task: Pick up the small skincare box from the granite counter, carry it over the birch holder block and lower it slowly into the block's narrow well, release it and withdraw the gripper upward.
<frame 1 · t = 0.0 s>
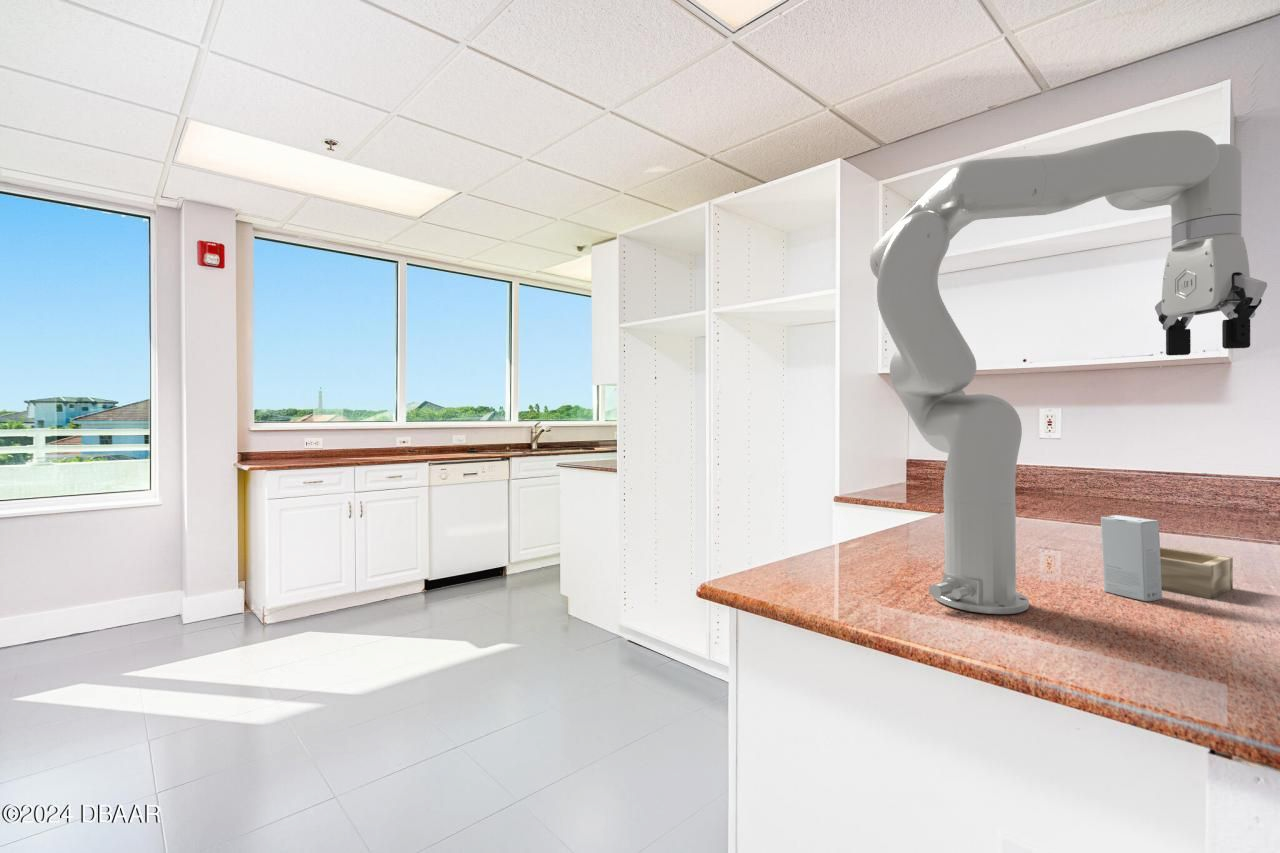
hand: (1205, 351, 89), 37 cm above the table, tool pointing down, fingers open, 9 cm apart
skincare box: (1130, 596, 93), on the table
well block: (1178, 585, 98), on the table
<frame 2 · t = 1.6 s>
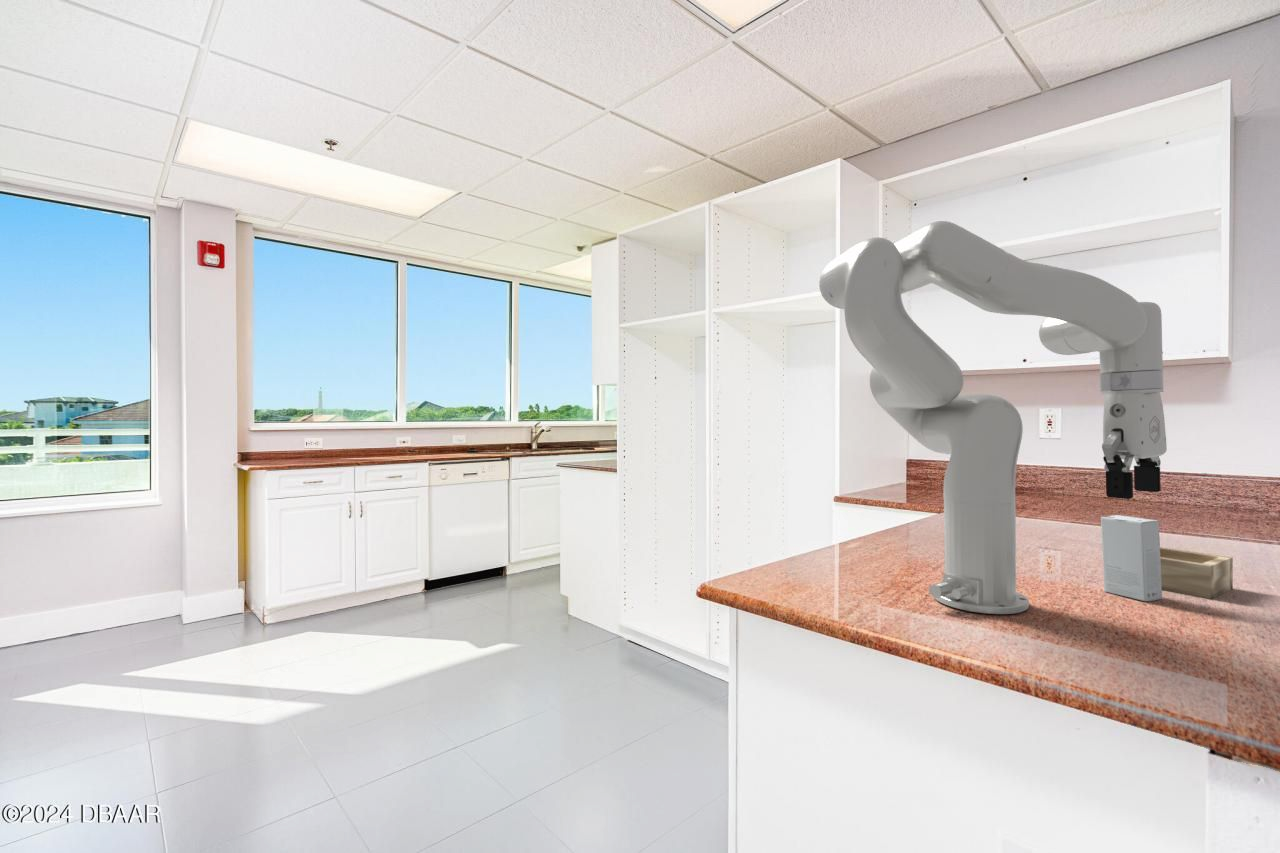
hand: (1133, 494, 93), 16 cm above the table, tool pointing down, fingers open, 9 cm apart
nothing on the table moved.
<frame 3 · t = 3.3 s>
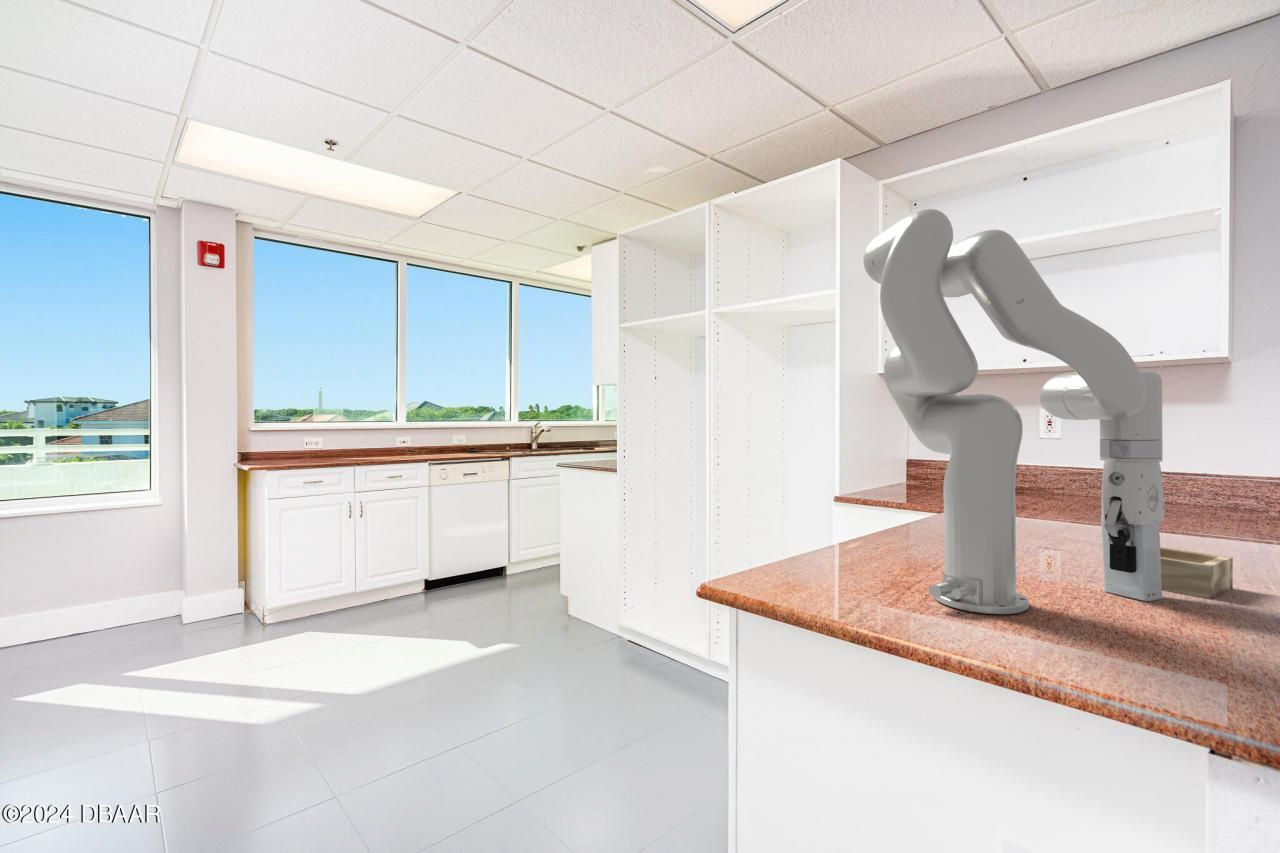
hand: (1130, 566, 93), 4 cm above the table, tool pointing down, fingers closed on skincare box, 4 cm apart
skincare box: (1130, 596, 93), on the table, touching gripper
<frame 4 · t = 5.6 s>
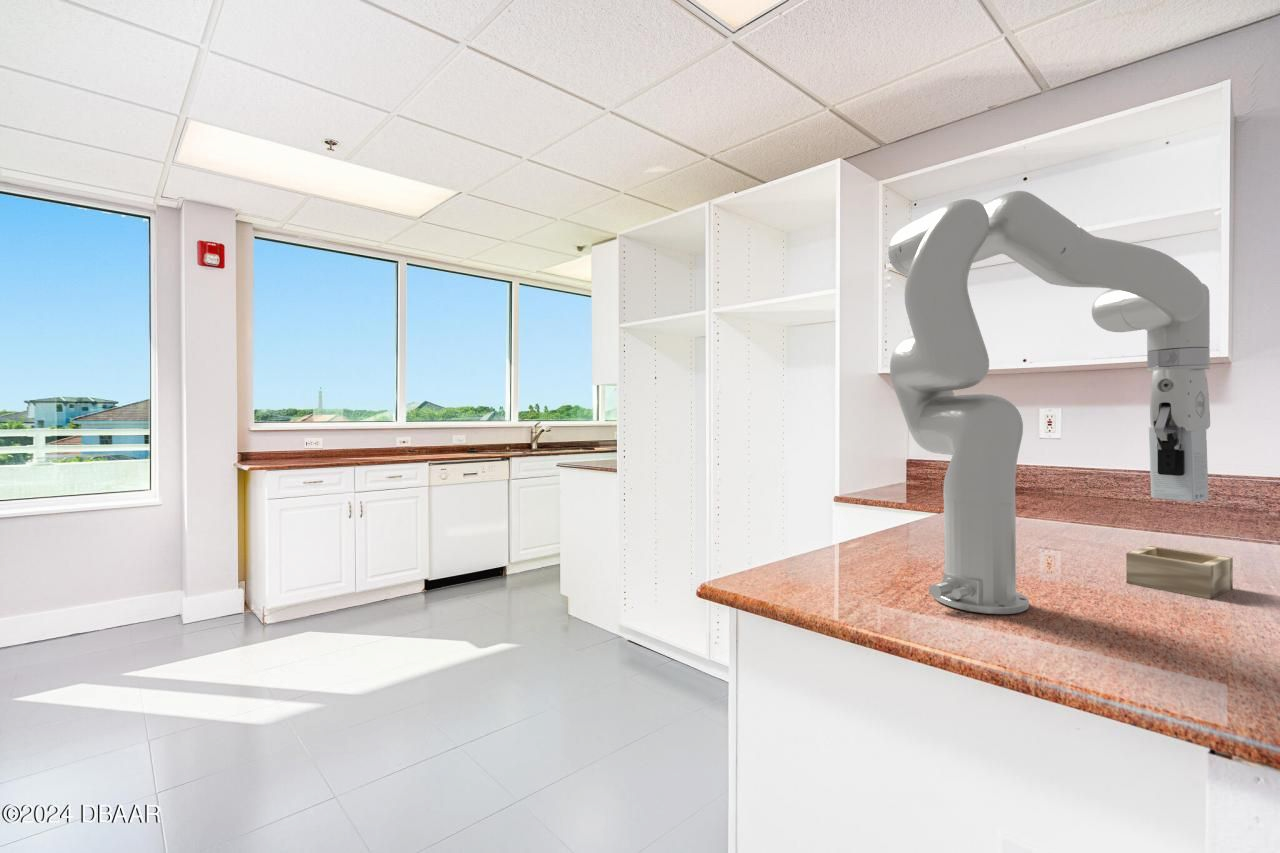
hand: (1177, 472, 97), 18 cm above the table, tool pointing down, fingers closed on skincare box, 4 cm apart
skincare box: (1177, 501, 97), point 14 cm above the table, touching gripper
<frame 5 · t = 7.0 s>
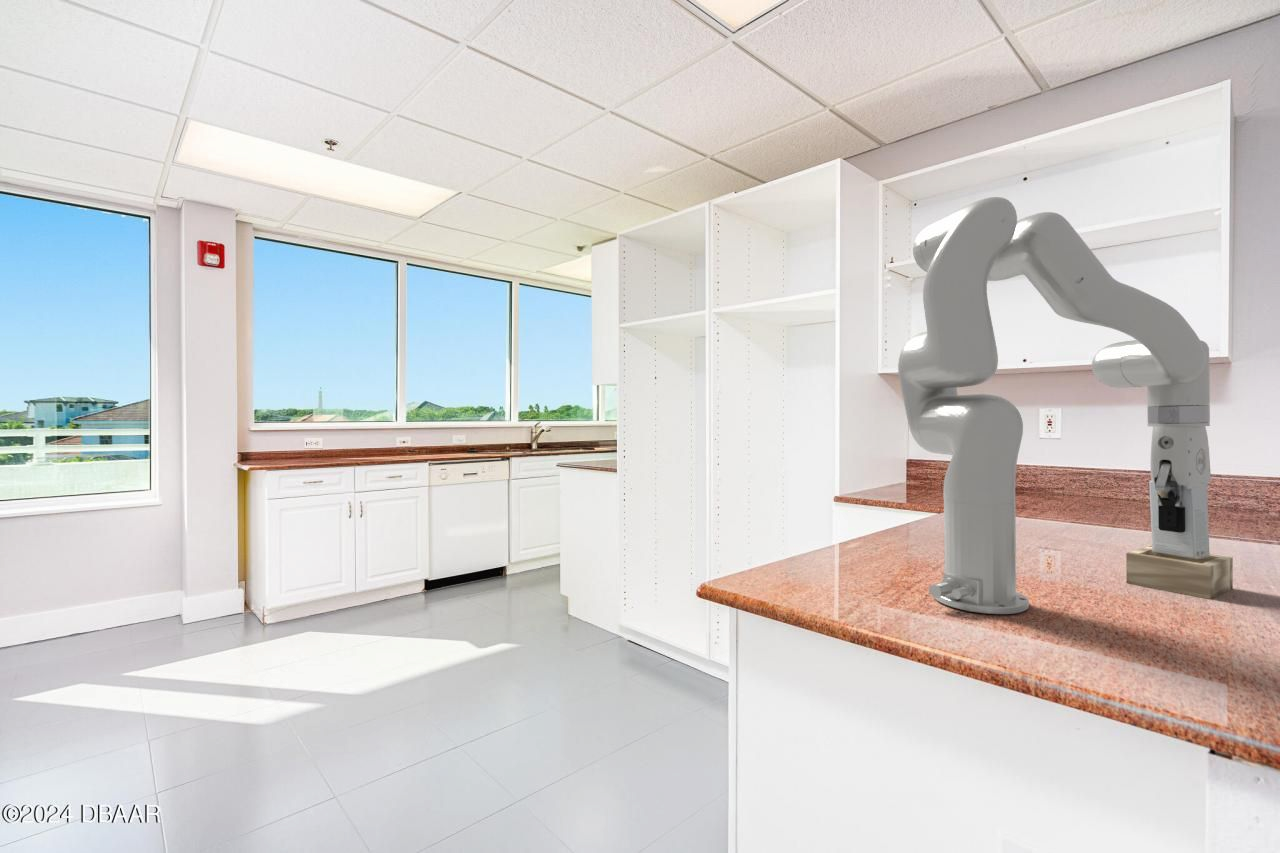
hand: (1178, 527, 97), 9 cm above the table, tool pointing down, fingers closed on skincare box, 4 cm apart
skincare box: (1178, 556, 97), point 5 cm above the table, touching gripper
when the fingers open (6 cm above the table, at t = 8.0 s): skincare box drops 1 cm, resting on well block.
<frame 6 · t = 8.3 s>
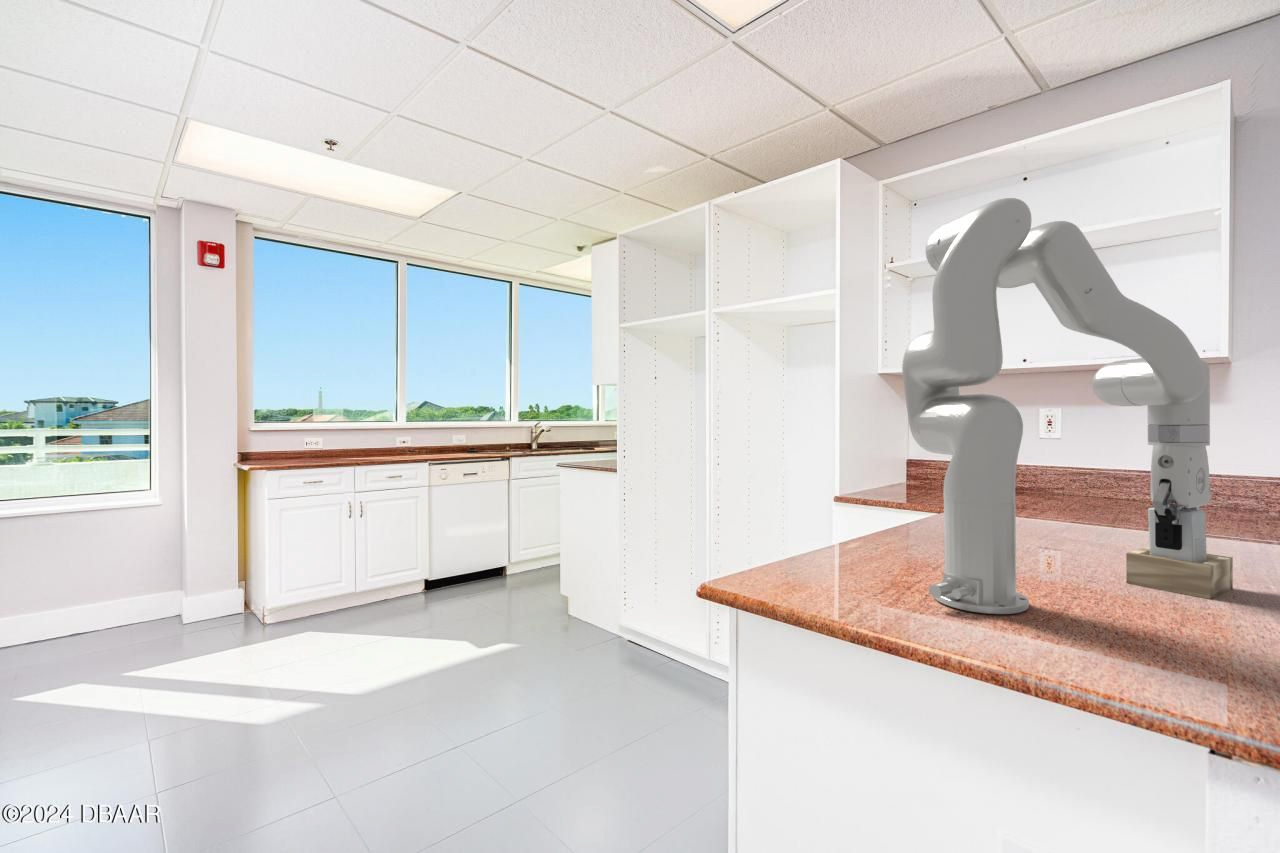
hand: (1178, 544, 97), 7 cm above the table, tool pointing down, fingers open, 7 cm apart
skincare box: (1177, 583, 97), resting on well block
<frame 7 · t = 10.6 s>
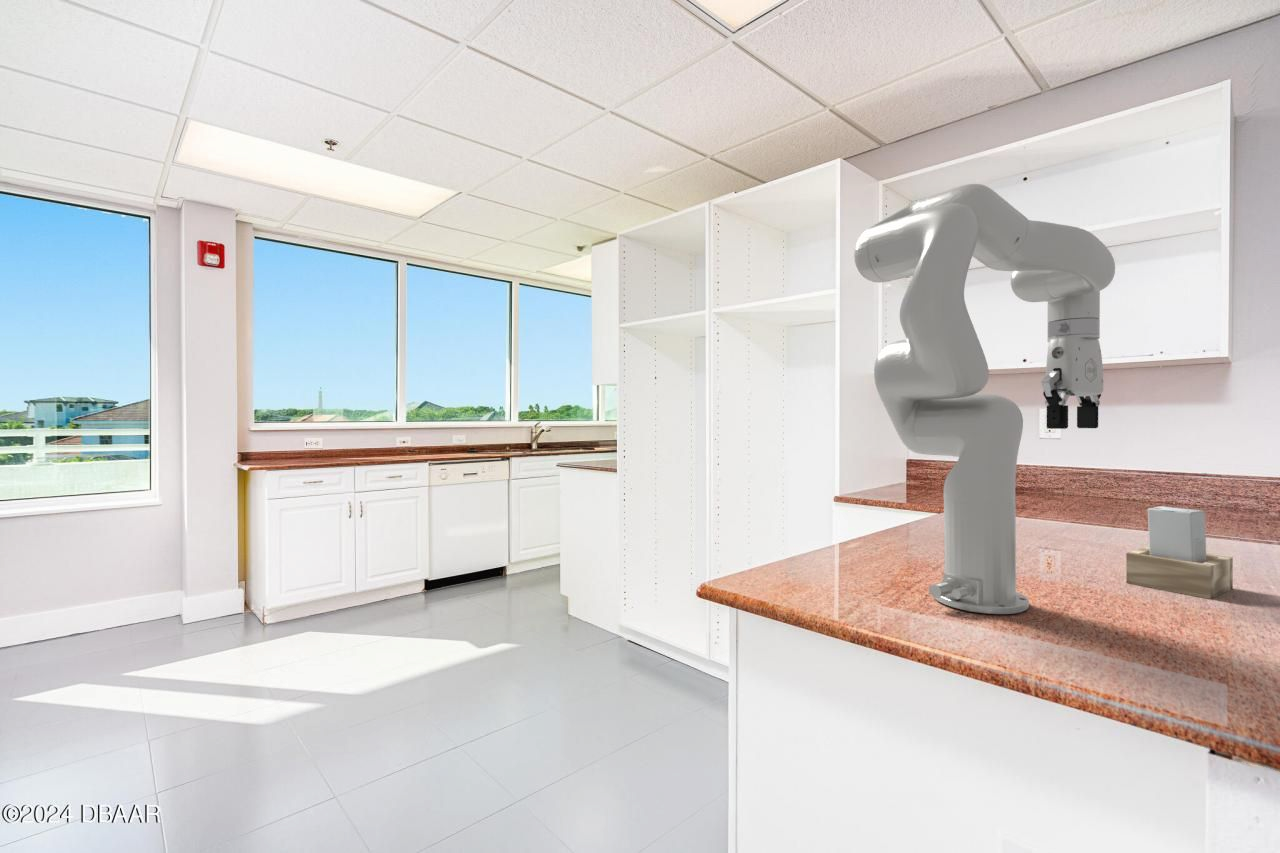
hand: (1072, 428, 107), 26 cm above the table, tool pointing down, fingers open, 9 cm apart
nothing on the table moved.
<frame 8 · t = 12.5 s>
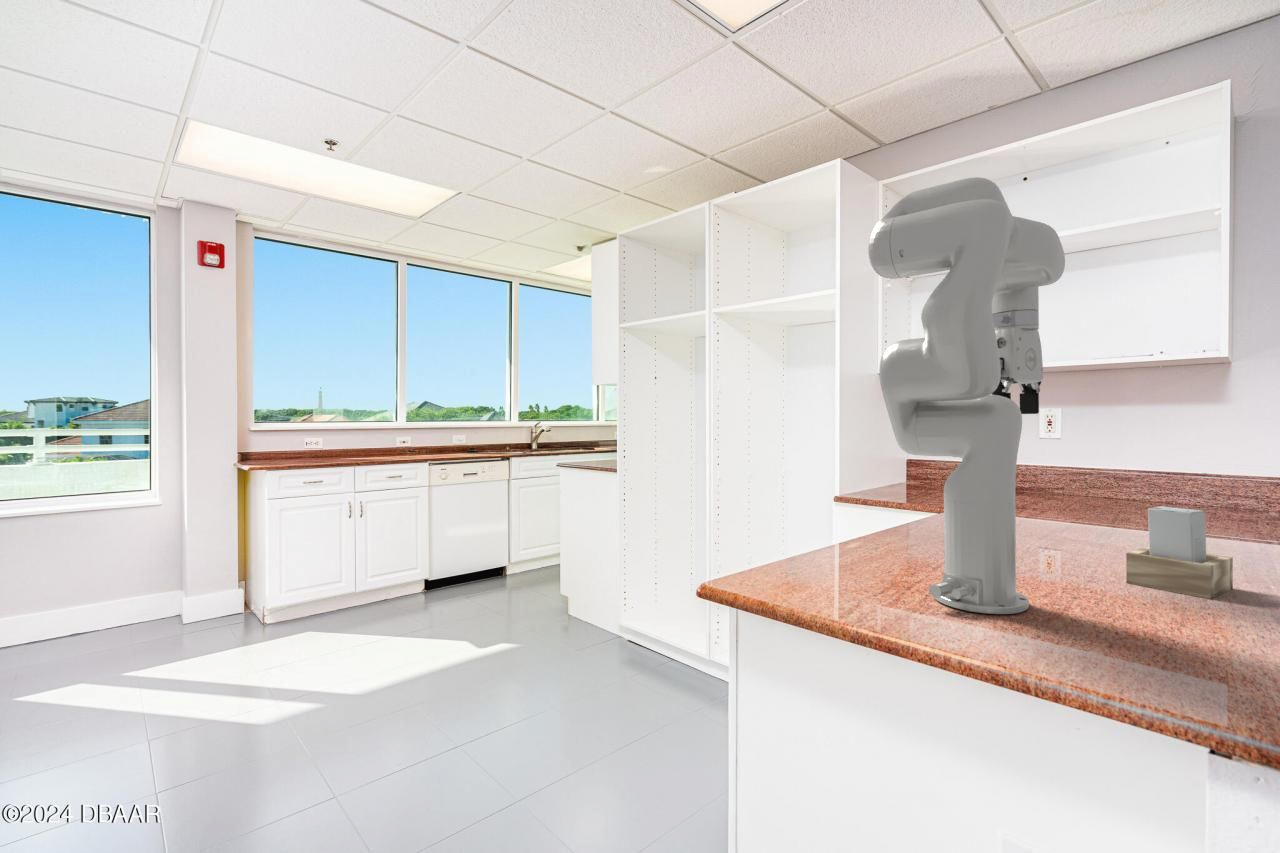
hand: (1015, 414, 113), 28 cm above the table, tool pointing down, fingers open, 9 cm apart
nothing on the table moved.
at the end: skincare box 0.3 cm off-centre on the well block, point 0.3 cm above the well block's base; skincare box tilted 0°; the gripper is holding nothing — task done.
